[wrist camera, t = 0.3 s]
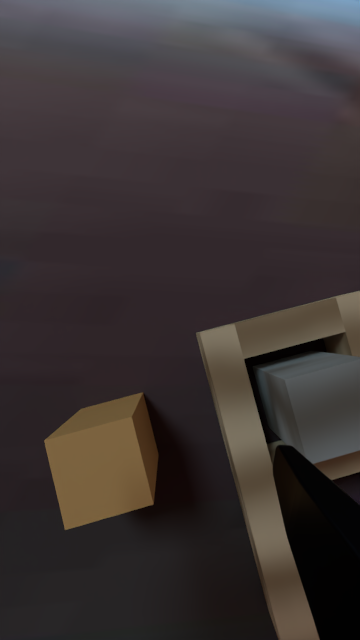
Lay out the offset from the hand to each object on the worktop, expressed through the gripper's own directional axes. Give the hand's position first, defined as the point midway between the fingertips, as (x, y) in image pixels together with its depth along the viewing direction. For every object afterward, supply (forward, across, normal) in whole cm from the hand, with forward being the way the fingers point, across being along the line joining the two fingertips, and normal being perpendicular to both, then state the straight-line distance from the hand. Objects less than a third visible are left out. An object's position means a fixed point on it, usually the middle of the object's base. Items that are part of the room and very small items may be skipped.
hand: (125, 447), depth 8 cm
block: (+11, +3, +9) cm, 14 cm away
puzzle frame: (+11, -12, +10) cm, 19 cm away
